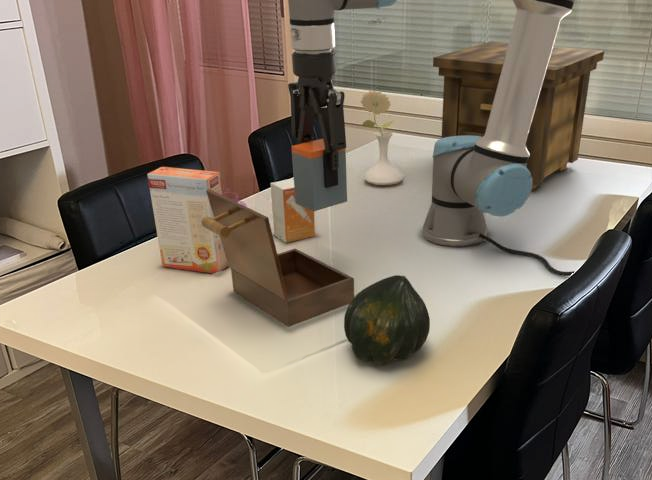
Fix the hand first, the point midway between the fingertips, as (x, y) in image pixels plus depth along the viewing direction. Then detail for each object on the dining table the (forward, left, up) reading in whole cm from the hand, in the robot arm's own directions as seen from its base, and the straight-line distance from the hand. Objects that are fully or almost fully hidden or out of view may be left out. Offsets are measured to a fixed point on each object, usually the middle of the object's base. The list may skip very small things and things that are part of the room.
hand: (320, 181), depth 136 cm
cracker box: (+31, -1, -23) cm, 38 cm away
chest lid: (+8, +14, -8) cm, 19 cm away
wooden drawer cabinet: (-21, -92, -23) cm, 97 cm away
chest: (+4, +7, -22) cm, 24 cm away
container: (0, 0, -4) cm, 4 cm away
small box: (+18, -24, -23) cm, 38 cm away
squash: (-20, +20, -23) cm, 36 cm away
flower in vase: (+12, -70, -23) cm, 75 cm away
